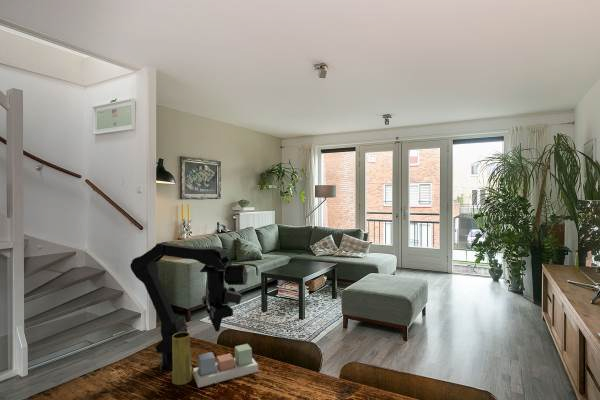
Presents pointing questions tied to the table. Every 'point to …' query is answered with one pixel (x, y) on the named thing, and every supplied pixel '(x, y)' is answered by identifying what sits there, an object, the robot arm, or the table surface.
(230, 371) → the button board
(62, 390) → the table surface
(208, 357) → the pale blue block
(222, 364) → the salmon block
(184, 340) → the vase
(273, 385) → the table surface
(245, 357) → the sage button
